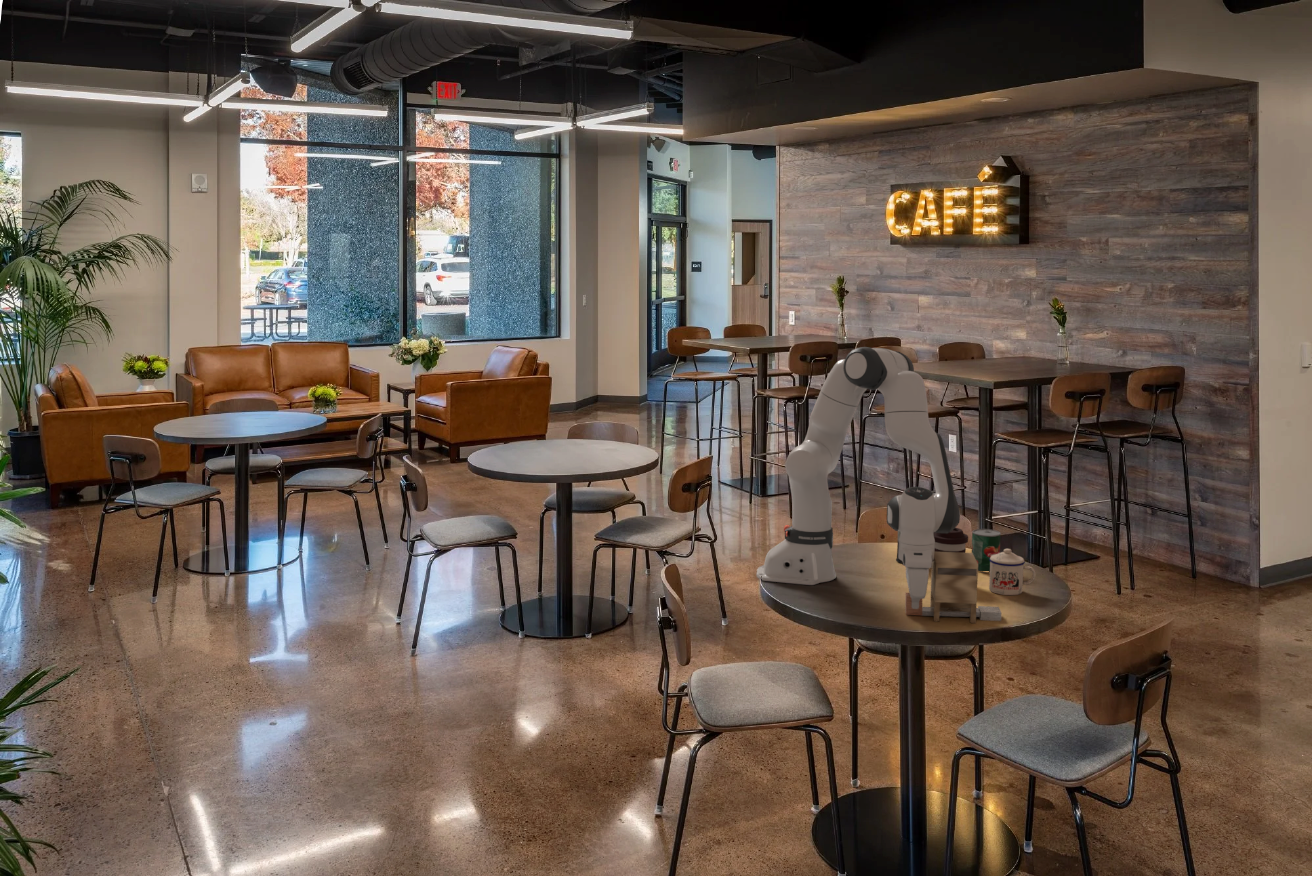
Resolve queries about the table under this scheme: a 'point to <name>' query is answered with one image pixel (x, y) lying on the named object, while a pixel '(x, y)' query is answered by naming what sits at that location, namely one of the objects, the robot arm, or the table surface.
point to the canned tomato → (985, 546)
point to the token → (989, 613)
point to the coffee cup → (951, 541)
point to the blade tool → (930, 610)
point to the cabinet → (954, 582)
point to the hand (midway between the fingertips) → (914, 605)
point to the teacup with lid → (1007, 573)
